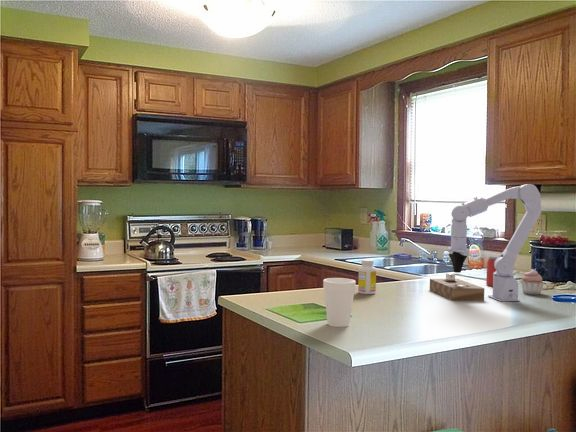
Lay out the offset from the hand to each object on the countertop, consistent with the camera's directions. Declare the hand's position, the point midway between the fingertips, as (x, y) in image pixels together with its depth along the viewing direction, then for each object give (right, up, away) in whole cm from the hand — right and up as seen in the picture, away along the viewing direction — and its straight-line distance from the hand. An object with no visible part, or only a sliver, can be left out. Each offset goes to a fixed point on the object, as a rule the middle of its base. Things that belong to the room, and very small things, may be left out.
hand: (457, 272), depth 215 cm
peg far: (-1, -5, +6) cm, 8 cm away
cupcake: (+32, -10, +8) cm, 35 cm away
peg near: (+1, -9, -3) cm, 9 cm away
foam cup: (-50, -10, -50) cm, 72 cm away
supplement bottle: (-35, -8, +2) cm, 36 cm away
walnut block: (0, -9, +2) cm, 9 cm away
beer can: (+24, -9, +25) cm, 36 cm away
